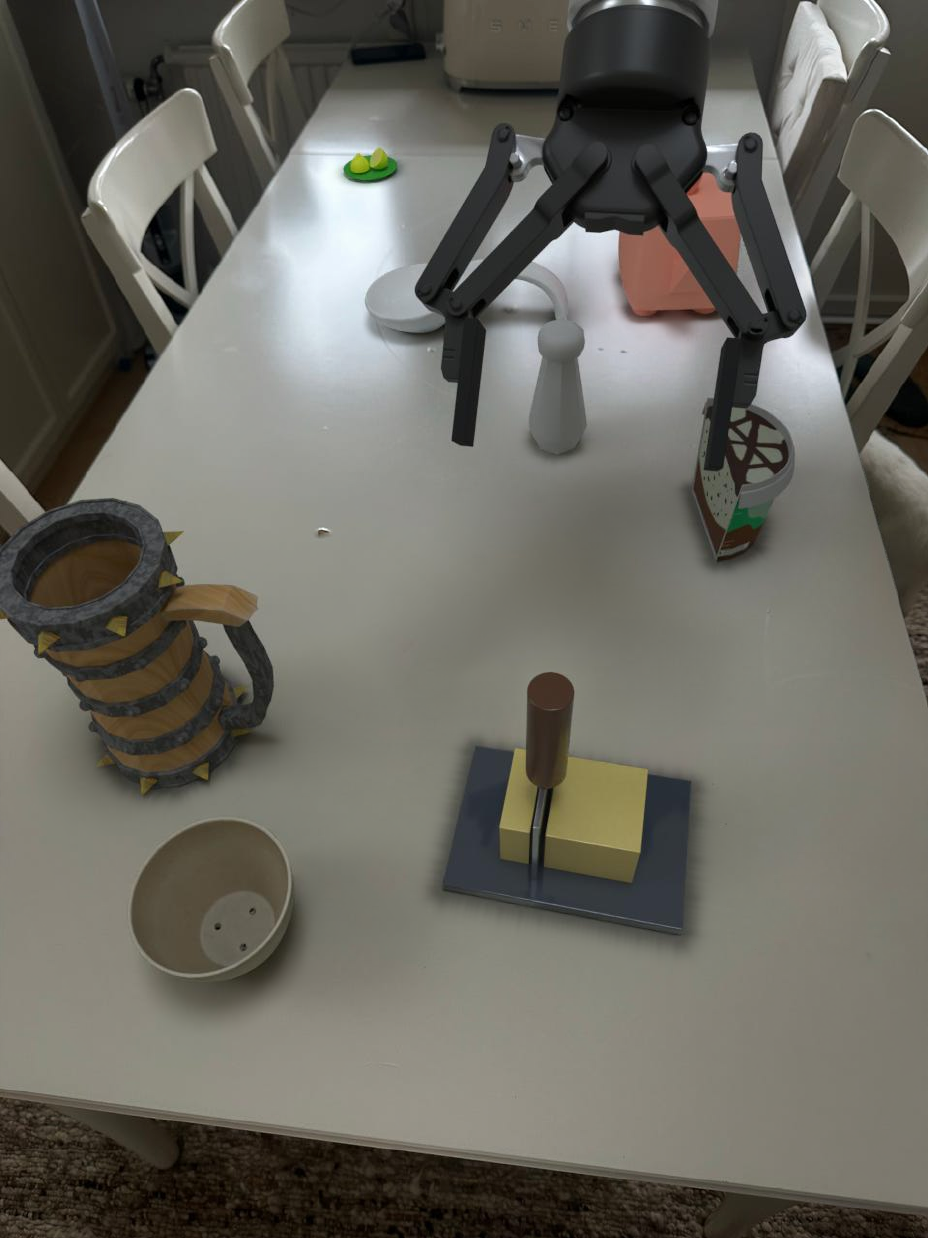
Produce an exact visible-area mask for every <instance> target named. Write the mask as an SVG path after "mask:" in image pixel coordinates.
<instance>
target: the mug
mask: <svg viewBox="0 0 928 1238" xmlns="http://www.w3.org/2000/svg"><path fill="white" fill-rule="evenodd" d="M184 532H185V531H184V530H180V531H179V530H178V531H177V530H175V531H163V528H162V524H161V522H160V519H158V518H157V517H156V516H154V515H153V514H152V513H151V512H149V511H148V510H147V509H146V508H145V507H143V506H142V505H141V504H138V503H134V502H130V501H128V500H122V499H118V498H115V497H105V498H89V499H79V500H76V501H73V502H70V503H67V504H64V505H60V506H57V507H54V508H50V509H48V510H46V511H45V512H43V513H42V514H40V515H38V516H36V517H35V518H33V519H31V520H30V521H28V522H26V523H25V524H23V525H22V526H20V527H19V528H18V529H17V530H16V531H15V532H14V533H13V534H12V535H11V536H10V537H9V538H8V539H7V540H6V542H4V543H3V545H2V546H1V547H0V620H7V623H9V625H10V626H11V627H12V628H13V629H14V630H15V632H16V633H17V634H18V635H20V637H22V639H24V641H26V643H27V644H30V645H32V646H33V648H34V649H33V654H34V656H35V658H36V659H45V660H46V661H47V663H48V664H50V665H51V666H52V667H54V668H55V669H56V670H58V671H59V672H60V673H61V675H62V676H63V677H65V678H66V682H67V685H68V687H69V688H70V690H71V692H72V693H73V694H74V695H75V697H76V698H77V699H78V700H79V702H78V707H79V709H80V710H81V711H83V712H90V717H91V721H90V722H89V724H88V726H87V728H88V730H89V731H90V732H91V733H95V734H97V736H98V737H99V738H100V739H101V740H102V744H103V748H104V753H105V755H104V756H103V757H102V758H101V759H100V761H99V762H98V763H96V766H95V767H101V766H108V765H114V766H115V768H117V770H119V771H120V773H122V775H123V776H124V777H125V778H126V780H128V781H130V782H133V783H136V784H138V785H140V793H141V796H143V795H144V794H146V793H147V791H149V790H150V789H163V788H179V787H182V786H184V785H187V784H189V783H192V782H195V781H197V780H200V779H203V780H205V781H209V774H210V773H211V772H212V771H214V770H215V769H216V768H217V767H218V766H219V765H221V764H222V763H223V762H224V761H225V760H227V759H228V757H229V756H230V754H231V753H232V751H233V749H234V747H235V746H236V744H237V743H238V741H239V739H240V737H241V735H246V734H249V733H251V730H250V729H255V728H257V727H259V726H261V725H262V724H263V722H264V720H265V718H266V715H267V711H268V708H269V706H270V704H271V702H272V698H273V693H274V688H275V682H274V680H275V679H274V667H273V664H272V662H271V659H270V657H269V655H268V652H267V650H266V647H265V645H264V644H263V642H262V641H261V639H260V637H259V636H258V634H257V633H256V631H255V629H254V627H253V625H252V622H251V621H250V619H251V618H252V616H253V615H254V614H255V613H256V612H257V611H258V610H259V608H258V600H259V596H258V595H256V594H254V593H252V592H250V591H247V590H246V589H244V588H243V589H242V588H241V587H239V586H236V585H233V584H211V583H197V584H195V583H194V584H186V582H185V579H184V578H183V576H179V575H178V565H177V562H176V559H175V556H174V553H173V551H172V547H171V544H172V543H173V542H174V541H175V540H177V539H178V538H179V537H180V536H181V535H183V533H184ZM195 621H197V622H202V623H211V624H219V625H222V627H223V630H224V632H225V633H226V636H227V637H228V639H229V641H230V643H231V645H232V646H233V649H235V651H236V653H237V654H238V656H239V657H240V660H241V661H242V662H243V664H244V666H245V668H246V670H247V672H248V675H249V677H250V678H251V682H252V683H251V685H252V692H253V698H252V702H249V703H246V704H240V702H239V701H240V700H239V698H240V696H241V695H243V693H244V692H245V691H246V690H247V689H248V688H249V685H247V686H235V687H234V686H233V684H232V682H231V681H230V680H229V678H227V677H226V676H225V675H224V674H223V673H222V670H221V666H220V663H221V659H220V657H219V656H218V655H216V654H215V655H214V654H213V655H210V654H209V653H208V652H207V651H206V650H205V649H206V647H207V646H208V640H207V639H206V637H204V636H200V633H199V629H198V628H197V626H196V624H195Z"/></svg>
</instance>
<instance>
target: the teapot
mask: <svg viewBox="0 0 928 1238" xmlns="http://www.w3.org/2000/svg"><path fill="white" fill-rule="evenodd" d="M687 196H688V197H689V199H690V200H691V202H692V203H693V205H694V207H695V208H696V211H697V214H698V217H699V219H700V220H701V222H702V223H703V225H704V226H705V228H706V229H707V231H708V232H709V234H710V235H711V237H712V238H713V240H714V241H715V243H716V244H717V246H718V247H719V249H720V251H721V252H722V254H723V255H724V257H725V258H726V260H727V261H728V263H729V264H730V266H731V267H732V269H733V270H734V272H735V273H736V275H737V276H738V269H739V267H738V266H739V260H740V253H741V251H740V250H741V238H742V236H741V233H740V230H739V227H738V224H737V221H736V218H735V215H734V211H733V207H732V200H731V193H727V192H723V191H721V190H720V189H719V187H718V185H717V181H716V179H715V177H714V176H713V175H712V174H710V173H703V174H702V176H701V177H700V179H699V180H698V181H697V182H696V183H695V185H694V186H693V187H692V188H691V189H690V190H689V191H688V193H687ZM618 232H619V233H618V241H617V242H618V243H617V245H618V246H617V253H618V254H617V255H618V266H619V273H620V279H621V283H622V287H623V290H624V292H625V296H626V298H627V301H628V304H629V306H630V308H632V309H631V310H632V312H633V313H634V314H635V315H637V316H640V317H651V316H653V315H655V314H656V313H657V311H679V310H680V311H681V310H682V311H683V310H692V311H694V312H695V313H697V314H703V315H707V314H711V313H714V312H715V311H716V309H715V307H714V306H713V304H712V303H711V301H710V300H709V298H708V297H707V295H706V294H705V292H704V291H703V289H702V288H701V286H700V284H699V283H698V281H697V280H696V278H695V277H694V275H693V274H692V272H691V271H690V269H689V268H688V266H687V265H686V263H685V262H684V260H683V259H682V257H681V256H680V254H679V253H678V251H677V250H676V248H675V247H673V246H672V245H671V244H670V243H669V241H668V240H667V238H666V237H665V235H664V234H663V232H662V231H661V229H660V228H659V226H657V227H655V228H654V229H652V230H649V231H646V232H644V234H643V235H629V234H626V233H623V232H620V231H618Z"/></svg>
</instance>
